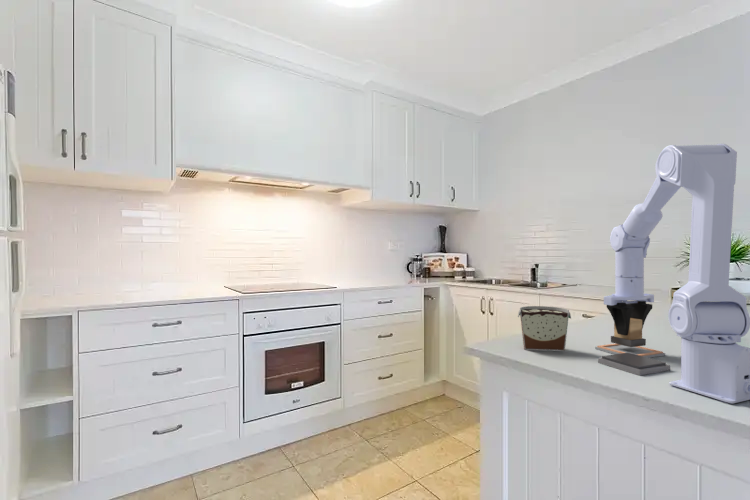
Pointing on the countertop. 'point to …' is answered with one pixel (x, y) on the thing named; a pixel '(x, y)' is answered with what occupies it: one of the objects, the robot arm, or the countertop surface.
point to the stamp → (630, 335)
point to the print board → (630, 350)
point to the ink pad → (634, 363)
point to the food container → (544, 327)
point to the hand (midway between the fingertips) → (629, 333)
